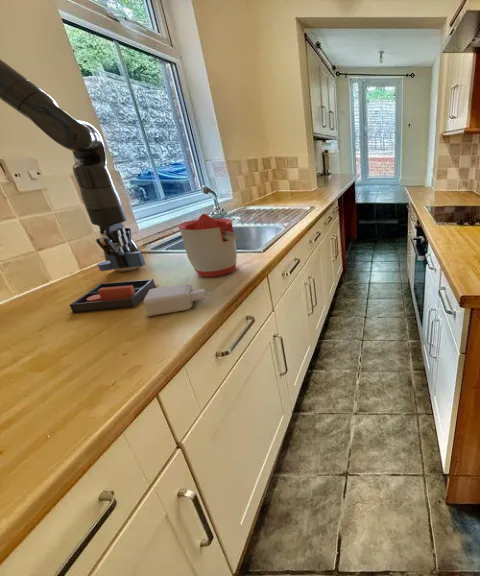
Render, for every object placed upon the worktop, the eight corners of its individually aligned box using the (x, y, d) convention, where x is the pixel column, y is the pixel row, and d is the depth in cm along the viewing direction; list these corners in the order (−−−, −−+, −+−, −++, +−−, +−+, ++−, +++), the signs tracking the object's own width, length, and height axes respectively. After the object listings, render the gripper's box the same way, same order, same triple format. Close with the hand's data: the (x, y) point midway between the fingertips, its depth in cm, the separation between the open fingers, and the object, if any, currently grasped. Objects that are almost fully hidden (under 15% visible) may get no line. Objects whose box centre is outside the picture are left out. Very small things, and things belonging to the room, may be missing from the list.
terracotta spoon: (132, 302, 87) (128, 289, 86) (85, 306, 85) (79, 293, 83) (139, 296, 91) (134, 283, 89) (93, 300, 88) (88, 287, 87)
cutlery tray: (73, 313, 83) (69, 304, 82) (103, 291, 96) (100, 283, 95) (133, 307, 86) (130, 299, 85) (155, 286, 99) (153, 279, 98)
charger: (213, 306, 86) (148, 318, 81) (215, 293, 94) (155, 303, 88) (209, 291, 84) (142, 301, 79) (211, 278, 92) (150, 287, 86)
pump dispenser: (143, 262, 120) (130, 222, 113) (146, 269, 112) (132, 227, 106) (109, 268, 114) (92, 226, 107) (110, 276, 106) (93, 232, 100)
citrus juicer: (228, 282, 102) (214, 219, 94) (180, 278, 105) (163, 217, 96) (254, 265, 116) (244, 210, 108) (212, 262, 119) (199, 208, 110)
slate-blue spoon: (141, 267, 91) (136, 254, 89) (96, 271, 88) (90, 258, 87) (147, 263, 94) (142, 250, 92) (104, 267, 92) (98, 253, 90)
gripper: (101, 201, 89) (123, 259, 97) (70, 210, 77) (97, 276, 84) (132, 200, 91) (150, 257, 98) (105, 208, 79) (129, 273, 86)
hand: (126, 265), depth 91 cm, fingers closed on slate-blue spoon, 2 cm apart
